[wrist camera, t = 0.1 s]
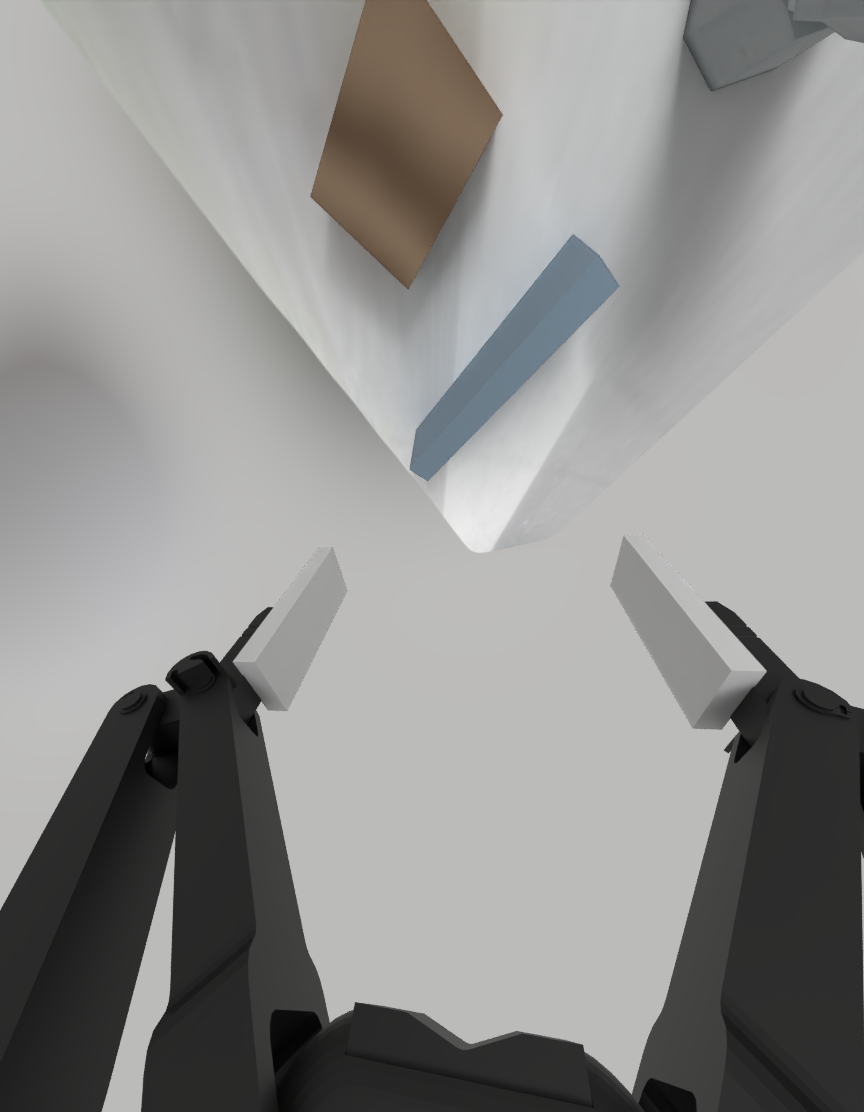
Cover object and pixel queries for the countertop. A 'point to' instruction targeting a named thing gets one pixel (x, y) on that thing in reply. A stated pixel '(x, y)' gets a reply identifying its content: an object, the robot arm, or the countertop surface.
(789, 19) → the coffee maker
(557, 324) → the slate board
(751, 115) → the countertop surface
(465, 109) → the walnut block
